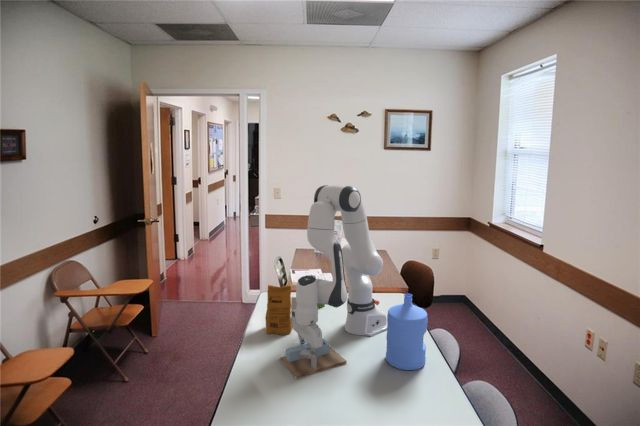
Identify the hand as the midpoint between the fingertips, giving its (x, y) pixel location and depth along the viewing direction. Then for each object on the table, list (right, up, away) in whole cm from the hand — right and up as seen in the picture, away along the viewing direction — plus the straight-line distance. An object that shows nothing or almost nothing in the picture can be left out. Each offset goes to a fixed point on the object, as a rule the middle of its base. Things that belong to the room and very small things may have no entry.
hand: (307, 348), depth 175 cm
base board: (+3, -5, -2) cm, 6 cm away
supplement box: (-4, +3, +37) cm, 37 cm away
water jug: (+40, -5, -1) cm, 40 cm away
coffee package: (-14, 0, +25) cm, 28 cm away
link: (0, -3, +1) cm, 3 cm away
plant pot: (+4, +6, +54) cm, 54 cm away
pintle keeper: (+2, -4, -4) cm, 6 cm away
